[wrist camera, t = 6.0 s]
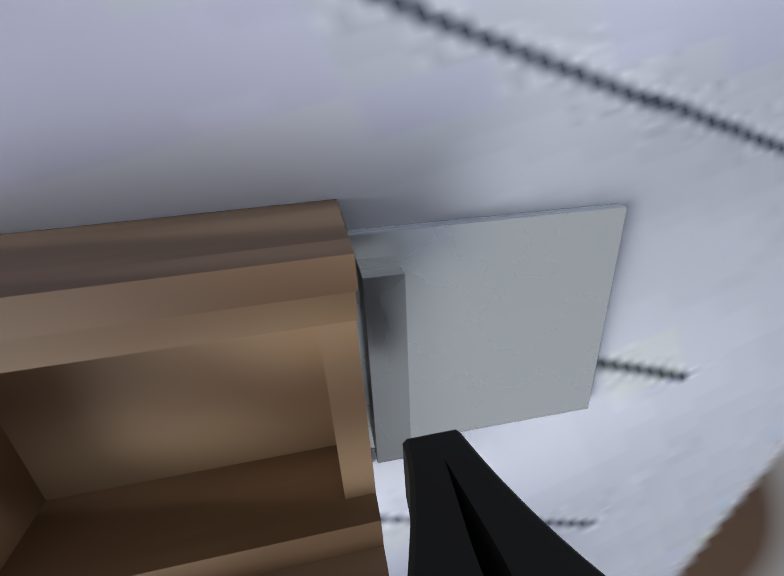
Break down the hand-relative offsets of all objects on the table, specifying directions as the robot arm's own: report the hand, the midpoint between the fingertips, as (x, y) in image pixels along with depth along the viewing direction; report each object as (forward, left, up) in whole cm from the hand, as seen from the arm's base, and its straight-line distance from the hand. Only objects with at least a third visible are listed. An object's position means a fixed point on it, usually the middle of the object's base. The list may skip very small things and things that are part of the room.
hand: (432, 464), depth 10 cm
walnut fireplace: (0, +7, -5) cm, 9 cm away
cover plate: (0, -3, -6) cm, 7 cm away
